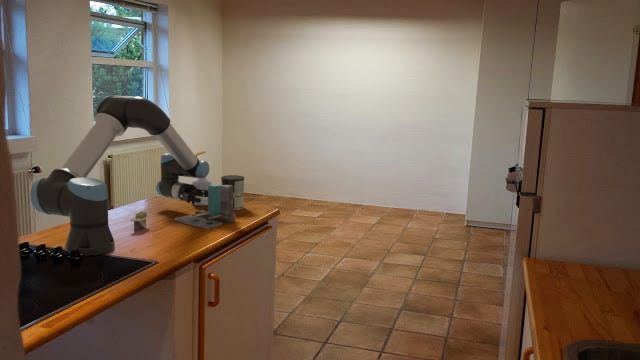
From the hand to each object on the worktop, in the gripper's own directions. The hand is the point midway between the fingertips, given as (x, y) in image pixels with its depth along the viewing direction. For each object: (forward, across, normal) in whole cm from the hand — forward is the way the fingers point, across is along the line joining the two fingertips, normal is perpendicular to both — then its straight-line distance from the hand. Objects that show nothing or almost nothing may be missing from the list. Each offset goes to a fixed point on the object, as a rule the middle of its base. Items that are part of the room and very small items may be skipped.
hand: (219, 199), depth 230 cm
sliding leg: (-3, +4, -7) cm, 8 cm away
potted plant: (-12, +29, -10) cm, 33 cm away
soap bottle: (-30, -17, -9) cm, 35 cm away
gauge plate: (-3, +9, -9) cm, 13 cm away
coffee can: (-14, -21, -9) cm, 27 cm away
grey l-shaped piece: (-3, +4, -9) cm, 10 cm away
